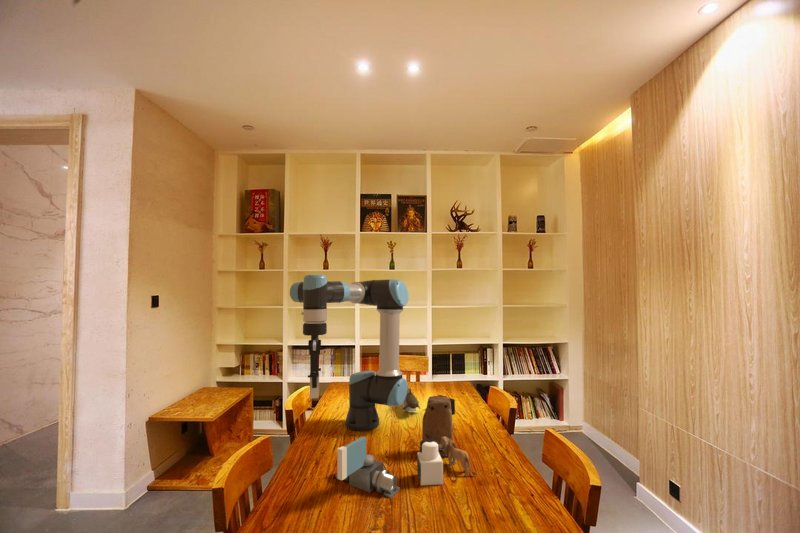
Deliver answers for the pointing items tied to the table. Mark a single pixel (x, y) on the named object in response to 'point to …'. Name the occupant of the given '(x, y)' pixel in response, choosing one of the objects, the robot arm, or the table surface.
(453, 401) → the digital camera
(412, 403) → the wood carving
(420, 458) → the medicine bottle
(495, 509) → the table surface
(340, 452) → the lever
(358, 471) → the valve
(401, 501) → the table surface
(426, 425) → the brown rough block
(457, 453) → the lion figurine
